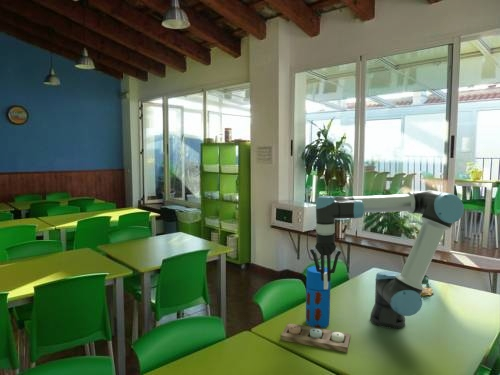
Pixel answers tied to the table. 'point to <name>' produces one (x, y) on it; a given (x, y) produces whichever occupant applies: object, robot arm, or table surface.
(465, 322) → the table surface
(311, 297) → the thermos
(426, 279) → the frog figurine
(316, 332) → the button two
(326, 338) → the board
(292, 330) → the button three
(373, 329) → the table surface
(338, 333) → the button one
